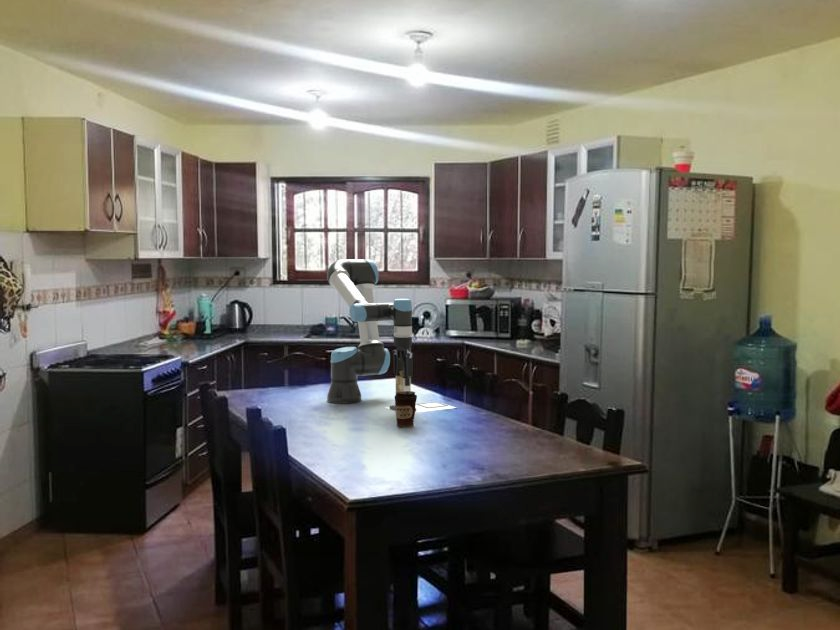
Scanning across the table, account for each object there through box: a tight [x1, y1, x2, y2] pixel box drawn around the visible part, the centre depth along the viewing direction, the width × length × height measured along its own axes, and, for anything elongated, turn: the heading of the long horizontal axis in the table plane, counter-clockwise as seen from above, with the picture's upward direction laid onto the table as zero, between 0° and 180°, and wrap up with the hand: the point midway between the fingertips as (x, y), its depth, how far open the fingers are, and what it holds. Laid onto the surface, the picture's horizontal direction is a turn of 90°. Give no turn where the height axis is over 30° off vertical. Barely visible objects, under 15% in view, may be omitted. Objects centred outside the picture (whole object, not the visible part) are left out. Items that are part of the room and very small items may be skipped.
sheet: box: [383, 400, 457, 414], centre depth 322 cm, size 17×26×1 cm, turn 121°
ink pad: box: [389, 404, 416, 412], centre depth 316 cm, size 10×7×2 cm
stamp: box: [395, 370, 412, 395], centre depth 315 cm, size 4×4×10 cm
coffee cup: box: [394, 391, 418, 428], centre depth 286 cm, size 9×8×13 cm
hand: (403, 392), depth 316 cm, fingers closed on stamp, 4 cm apart
